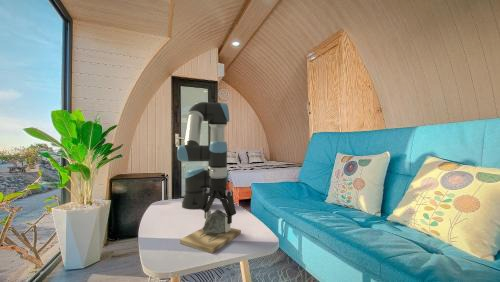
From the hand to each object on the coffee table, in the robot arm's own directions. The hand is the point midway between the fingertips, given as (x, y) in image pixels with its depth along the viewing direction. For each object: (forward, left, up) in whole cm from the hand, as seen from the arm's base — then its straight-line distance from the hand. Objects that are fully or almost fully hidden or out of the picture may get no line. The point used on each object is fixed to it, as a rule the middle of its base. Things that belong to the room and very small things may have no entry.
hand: (217, 228), depth 94 cm
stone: (0, 0, -1) cm, 1 cm away
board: (+4, 0, -3) cm, 5 cm away
